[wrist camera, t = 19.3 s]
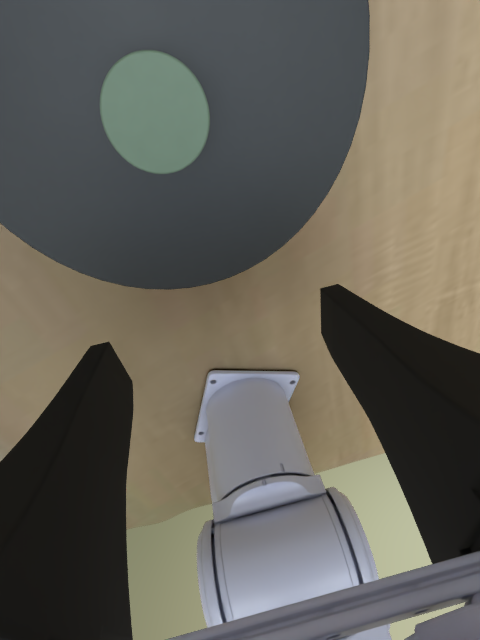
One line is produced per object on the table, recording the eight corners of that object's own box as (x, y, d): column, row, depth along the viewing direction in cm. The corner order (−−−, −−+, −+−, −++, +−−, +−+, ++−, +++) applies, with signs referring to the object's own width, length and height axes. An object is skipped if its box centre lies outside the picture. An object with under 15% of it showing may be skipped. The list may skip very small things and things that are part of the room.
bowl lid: (287, 288, 16) (319, 347, 13) (-30, 260, 13) (-97, 331, 10) (433, -138, 9) (597, -253, 5) (-247, -491, 5) (-942, -1420, 2)
